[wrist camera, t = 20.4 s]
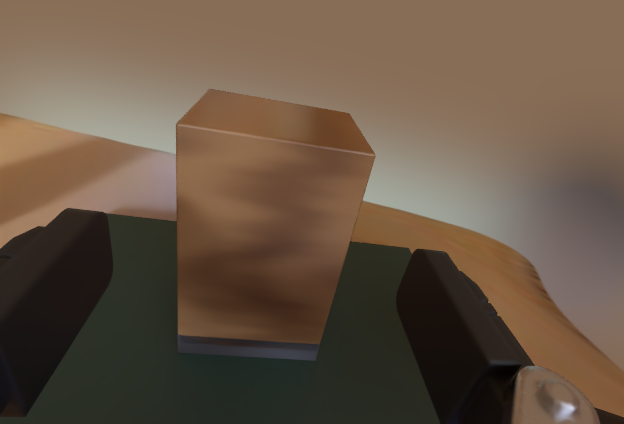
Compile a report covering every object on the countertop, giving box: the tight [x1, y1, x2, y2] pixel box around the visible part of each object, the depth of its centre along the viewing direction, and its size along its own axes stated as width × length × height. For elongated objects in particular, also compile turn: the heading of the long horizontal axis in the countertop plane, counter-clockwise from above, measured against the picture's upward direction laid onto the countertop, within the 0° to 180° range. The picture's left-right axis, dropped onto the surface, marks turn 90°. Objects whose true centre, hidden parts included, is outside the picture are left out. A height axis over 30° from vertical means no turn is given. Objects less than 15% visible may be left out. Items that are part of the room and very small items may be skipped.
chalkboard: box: [0, 213, 440, 424], centre depth 17 cm, size 22×16×1 cm
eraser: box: [176, 89, 375, 361], centre depth 15 cm, size 6×5×10 cm
